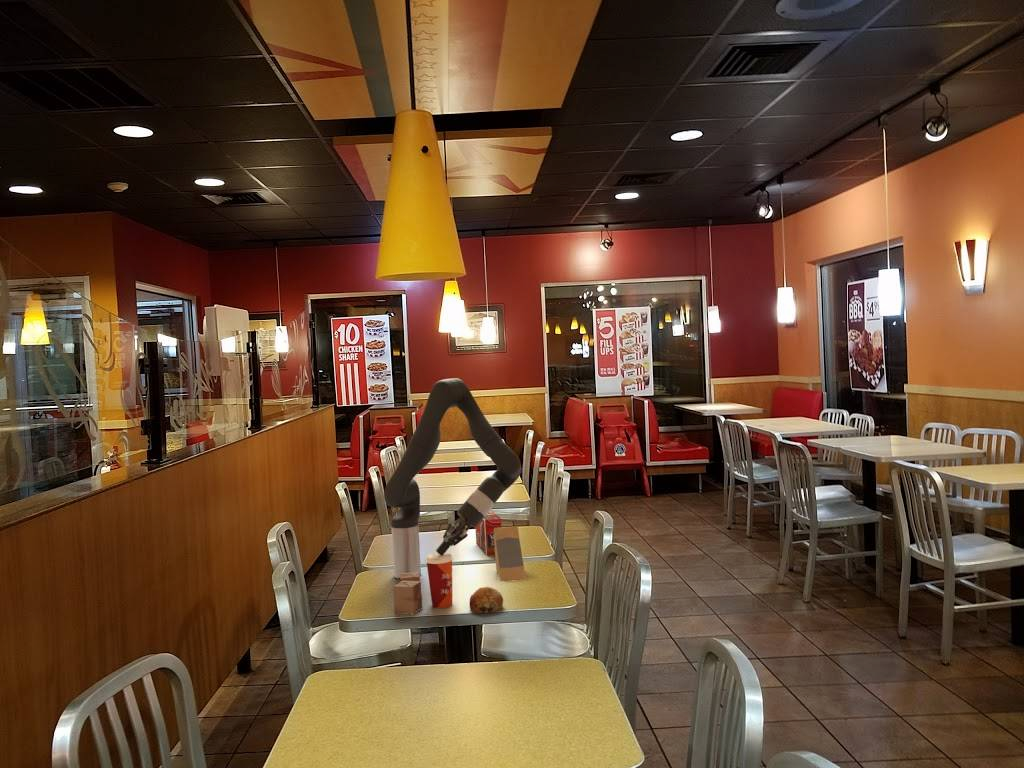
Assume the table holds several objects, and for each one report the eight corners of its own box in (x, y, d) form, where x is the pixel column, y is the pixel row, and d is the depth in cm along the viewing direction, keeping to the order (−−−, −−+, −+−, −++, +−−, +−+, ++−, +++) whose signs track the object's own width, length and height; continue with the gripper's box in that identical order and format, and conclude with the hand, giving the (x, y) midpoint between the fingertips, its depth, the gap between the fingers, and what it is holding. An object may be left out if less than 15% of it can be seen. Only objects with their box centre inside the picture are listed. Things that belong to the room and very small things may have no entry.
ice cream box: (476, 544, 325) (474, 511, 325) (492, 542, 327) (490, 509, 326) (486, 555, 306) (484, 520, 306) (502, 553, 307) (501, 518, 307)
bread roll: (507, 618, 241) (510, 591, 244) (492, 613, 232) (496, 585, 235) (477, 616, 245) (481, 588, 248) (461, 610, 237) (465, 582, 240)
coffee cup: (452, 609, 240) (448, 558, 240) (425, 609, 242) (421, 559, 242) (459, 600, 249) (456, 551, 248) (433, 600, 250) (429, 552, 250)
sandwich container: (500, 582, 268) (498, 536, 268) (495, 570, 283) (493, 527, 283) (526, 580, 269) (524, 534, 269) (520, 568, 284) (517, 525, 284)
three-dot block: (403, 607, 246) (402, 580, 245) (422, 608, 244) (420, 580, 243) (394, 613, 240) (393, 585, 240) (413, 614, 238) (412, 586, 238)
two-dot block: (401, 598, 255) (399, 572, 254) (420, 597, 255) (419, 571, 255) (401, 604, 249) (399, 577, 248) (420, 602, 249) (419, 576, 249)
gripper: (460, 497, 254) (423, 541, 250) (474, 503, 242) (436, 549, 238) (477, 513, 256) (441, 557, 252) (492, 519, 244) (454, 565, 240)
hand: (438, 553), depth 245 cm, fingers closed
